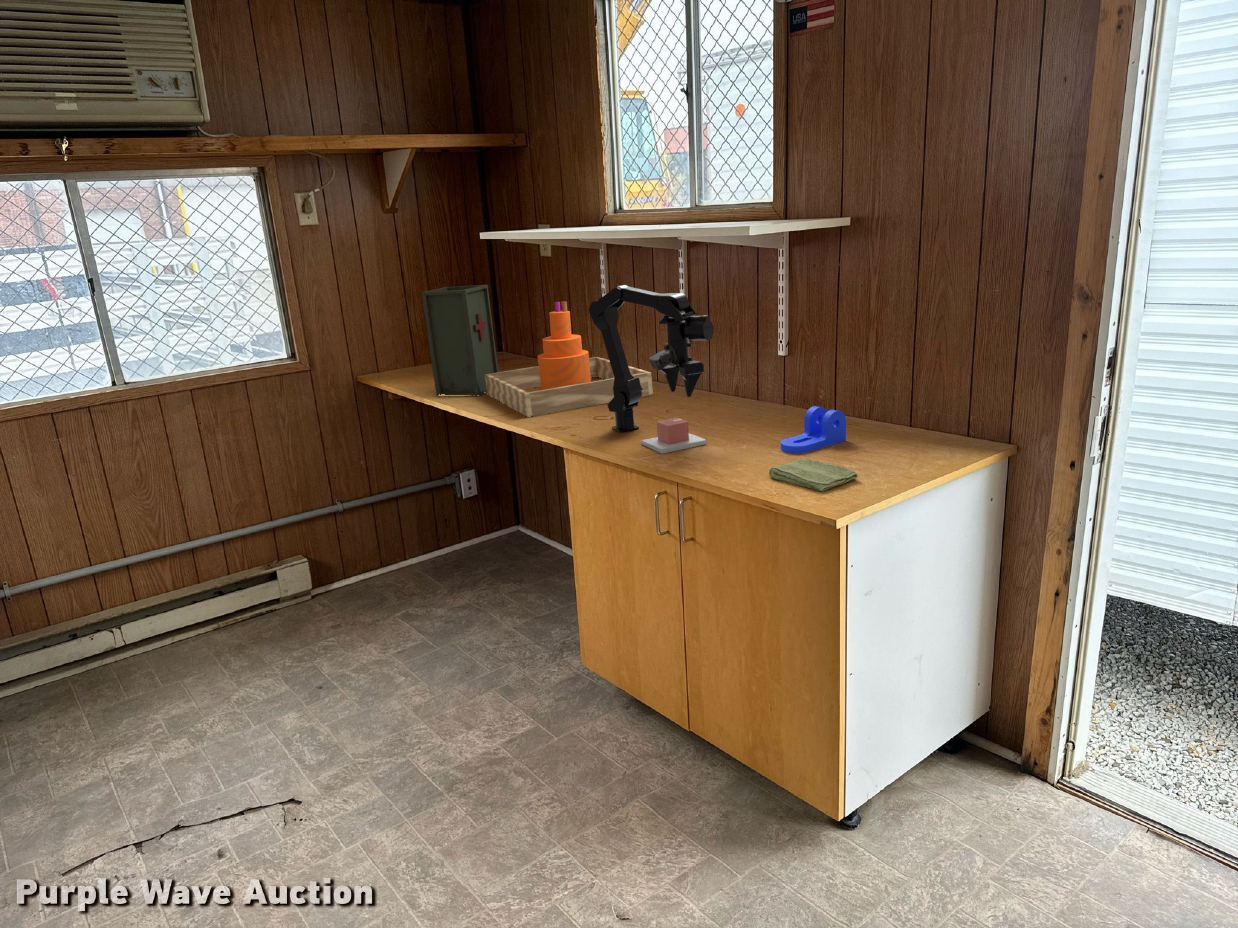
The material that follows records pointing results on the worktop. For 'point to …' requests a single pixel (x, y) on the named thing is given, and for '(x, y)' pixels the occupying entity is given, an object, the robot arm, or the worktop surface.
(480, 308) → the first aid box
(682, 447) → the peg base plate
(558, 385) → the cake
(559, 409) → the storage crate
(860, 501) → the worktop surface
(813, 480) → the washcloth
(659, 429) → the pink slotted box
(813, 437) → the bracket
